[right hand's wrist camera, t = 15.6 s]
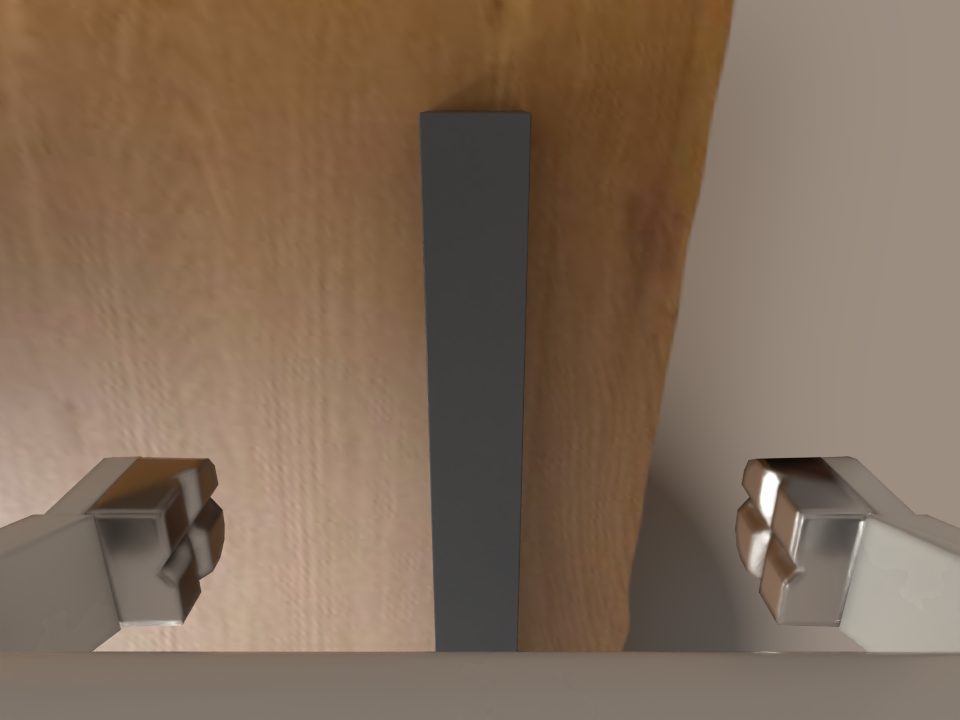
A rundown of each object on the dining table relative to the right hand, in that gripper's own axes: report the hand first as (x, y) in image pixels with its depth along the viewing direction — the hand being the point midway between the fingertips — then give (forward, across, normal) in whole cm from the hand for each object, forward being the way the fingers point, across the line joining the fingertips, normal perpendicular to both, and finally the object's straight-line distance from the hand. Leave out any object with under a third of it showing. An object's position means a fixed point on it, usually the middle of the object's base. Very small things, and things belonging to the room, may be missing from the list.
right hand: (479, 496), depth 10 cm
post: (+28, 0, -21) cm, 35 cm away
